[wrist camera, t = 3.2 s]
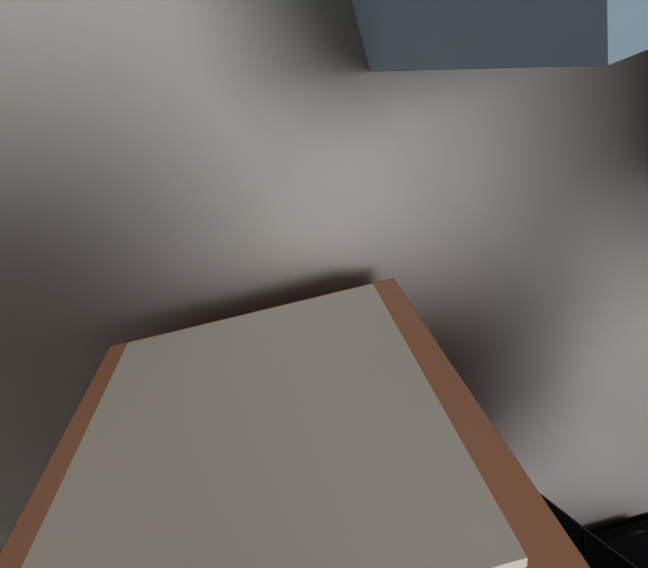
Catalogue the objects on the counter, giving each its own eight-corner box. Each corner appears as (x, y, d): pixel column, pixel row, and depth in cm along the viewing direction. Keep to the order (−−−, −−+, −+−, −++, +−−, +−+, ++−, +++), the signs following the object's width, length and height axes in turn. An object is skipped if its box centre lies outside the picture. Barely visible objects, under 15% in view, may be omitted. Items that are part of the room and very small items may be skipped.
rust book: (419, 489, 12) (549, 814, 7) (215, 542, 12) (183, 926, 6) (392, 272, 9) (606, 580, 3) (107, 340, 8) (-143, 791, 3)
